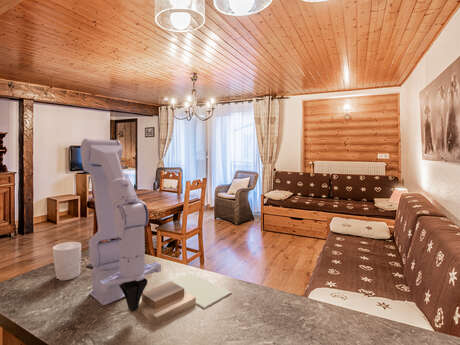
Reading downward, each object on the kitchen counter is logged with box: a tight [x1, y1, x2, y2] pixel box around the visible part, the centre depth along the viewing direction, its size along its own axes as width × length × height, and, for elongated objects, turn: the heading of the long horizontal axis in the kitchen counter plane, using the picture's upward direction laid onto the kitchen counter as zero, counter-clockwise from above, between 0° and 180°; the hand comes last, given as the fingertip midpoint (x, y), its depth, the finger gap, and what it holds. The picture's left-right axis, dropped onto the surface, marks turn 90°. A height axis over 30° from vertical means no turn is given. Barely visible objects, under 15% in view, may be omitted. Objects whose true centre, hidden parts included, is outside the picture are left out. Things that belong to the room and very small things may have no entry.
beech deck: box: [136, 291, 197, 326], centre depth 73 cm, size 12×12×2 cm
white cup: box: [52, 241, 82, 281], centre depth 89 cm, size 8×8×10 cm
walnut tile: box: [142, 280, 184, 309], centre depth 73 cm, size 6×9×2 cm, turn 138°
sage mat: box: [171, 272, 232, 309], centre depth 81 cm, size 18×11×1 cm, turn 48°
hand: (133, 309), depth 66 cm, fingers closed
